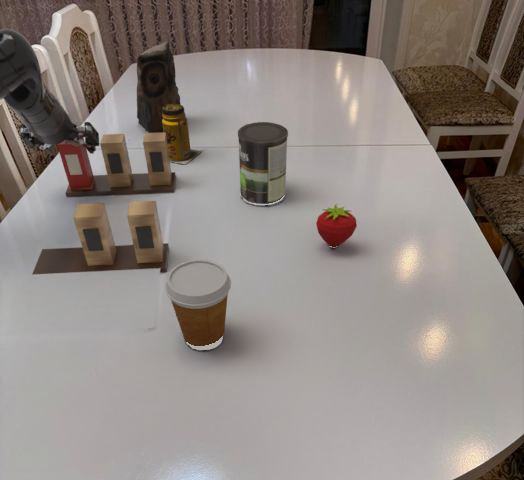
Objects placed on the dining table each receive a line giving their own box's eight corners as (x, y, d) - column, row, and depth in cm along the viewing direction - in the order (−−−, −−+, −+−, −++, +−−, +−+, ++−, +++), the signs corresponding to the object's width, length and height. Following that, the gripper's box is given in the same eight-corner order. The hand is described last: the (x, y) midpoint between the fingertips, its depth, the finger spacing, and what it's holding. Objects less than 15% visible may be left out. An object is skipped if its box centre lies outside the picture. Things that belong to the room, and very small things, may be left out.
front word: (33, 278, 90) (11, 225, 82) (43, 253, 96) (24, 201, 88) (166, 272, 91) (157, 219, 84) (169, 247, 97) (160, 195, 89)
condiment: (160, 159, 124) (152, 109, 116) (178, 146, 130) (172, 97, 121) (184, 165, 122) (178, 114, 113) (202, 152, 127) (198, 102, 119)
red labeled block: (70, 189, 111) (56, 144, 104) (74, 179, 115) (61, 135, 108) (90, 188, 112) (78, 143, 105) (94, 178, 115) (82, 134, 108)
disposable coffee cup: (181, 315, 83) (171, 255, 74) (237, 319, 82) (234, 259, 74) (168, 356, 76) (155, 296, 68) (229, 361, 76) (224, 300, 67)
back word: (66, 197, 111) (51, 148, 103) (73, 180, 117) (59, 132, 109) (174, 192, 112) (167, 144, 105) (175, 176, 118) (169, 129, 110)
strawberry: (353, 258, 94) (360, 210, 87) (313, 256, 95) (317, 208, 88) (352, 240, 98) (359, 194, 91) (314, 238, 99) (318, 192, 92)
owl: (181, 117, 144) (172, 37, 129) (188, 134, 135) (179, 51, 121) (137, 121, 141) (123, 41, 127) (142, 139, 133) (127, 55, 119)
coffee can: (244, 209, 107) (242, 144, 97) (236, 186, 114) (233, 124, 104) (291, 204, 108) (293, 139, 98) (280, 182, 116) (281, 119, 106)
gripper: (81, 93, 92) (104, 131, 108) (2, 96, 91) (37, 133, 107) (83, 134, 92) (106, 166, 108) (5, 137, 91) (39, 168, 107)
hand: (72, 150), depth 108 cm, fingers open, 8 cm apart
